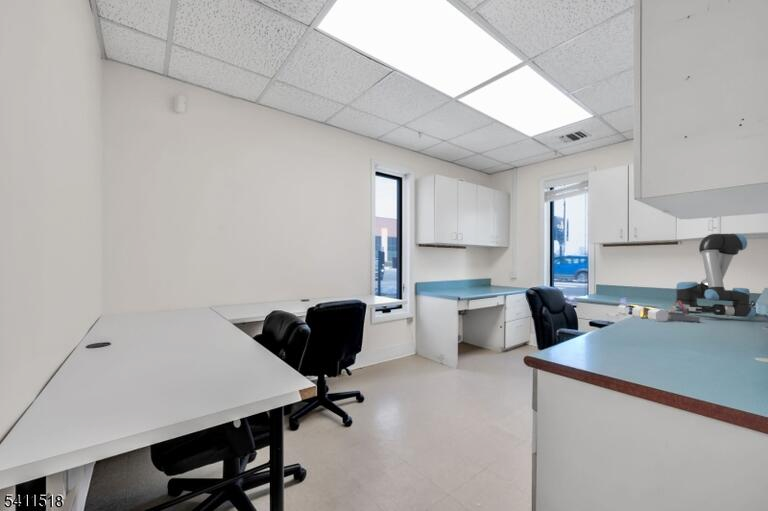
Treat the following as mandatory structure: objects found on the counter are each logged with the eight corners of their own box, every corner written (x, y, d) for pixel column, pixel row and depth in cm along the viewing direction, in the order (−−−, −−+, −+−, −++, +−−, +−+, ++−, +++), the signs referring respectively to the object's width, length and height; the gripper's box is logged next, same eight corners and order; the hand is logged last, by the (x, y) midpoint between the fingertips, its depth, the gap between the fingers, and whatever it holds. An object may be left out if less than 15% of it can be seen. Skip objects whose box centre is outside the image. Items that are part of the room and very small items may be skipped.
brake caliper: (696, 314, 214) (685, 300, 215) (682, 323, 215) (671, 309, 215) (682, 311, 225) (671, 298, 226) (669, 320, 226) (658, 306, 227)
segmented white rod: (617, 314, 220) (618, 296, 220) (629, 314, 223) (629, 296, 223) (655, 322, 196) (656, 301, 196) (668, 321, 199) (668, 301, 199)
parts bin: (685, 318, 210) (685, 313, 210) (699, 322, 195) (699, 317, 195) (658, 316, 215) (658, 311, 215) (670, 320, 200) (670, 315, 200)
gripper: (735, 318, 199) (694, 315, 207) (710, 312, 223) (673, 310, 230) (736, 307, 199) (694, 304, 207) (710, 302, 223) (673, 300, 230)
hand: (683, 307), depth 218 cm, fingers open, 13 cm apart
